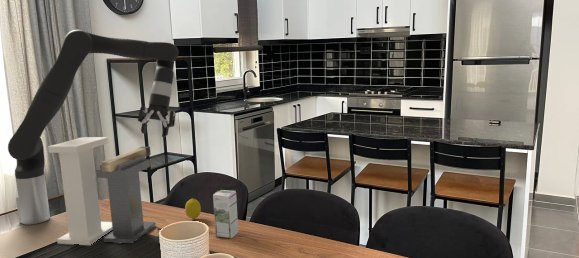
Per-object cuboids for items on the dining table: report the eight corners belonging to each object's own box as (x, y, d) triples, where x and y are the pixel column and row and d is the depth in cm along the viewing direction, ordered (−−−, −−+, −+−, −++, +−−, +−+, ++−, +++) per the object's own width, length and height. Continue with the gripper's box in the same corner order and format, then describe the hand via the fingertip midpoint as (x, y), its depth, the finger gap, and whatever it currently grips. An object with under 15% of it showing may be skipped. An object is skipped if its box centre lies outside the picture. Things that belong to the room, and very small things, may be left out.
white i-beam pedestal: (57, 243, 140) (45, 146, 135) (89, 225, 155) (79, 137, 150) (90, 245, 137) (79, 146, 132) (119, 226, 153) (110, 137, 148)
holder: (103, 242, 139) (95, 165, 135) (129, 225, 154) (122, 154, 150) (132, 244, 137) (124, 165, 133) (155, 226, 152) (149, 155, 148)
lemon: (203, 216, 159) (201, 195, 158) (198, 222, 154) (197, 200, 152) (188, 216, 160) (187, 196, 158) (183, 222, 154) (182, 200, 153)
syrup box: (239, 232, 143) (236, 190, 141) (231, 239, 138) (228, 195, 136) (223, 230, 145) (221, 188, 143) (215, 237, 140) (212, 194, 138)
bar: (102, 171, 133) (101, 162, 132) (143, 154, 156) (142, 146, 156) (110, 171, 132) (109, 162, 132) (150, 154, 155) (149, 146, 155)
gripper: (139, 90, 166) (132, 132, 166) (173, 95, 164) (166, 137, 163) (148, 93, 174) (141, 133, 173) (181, 98, 171) (174, 138, 171)
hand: (153, 135), depth 168 cm, fingers open, 8 cm apart
